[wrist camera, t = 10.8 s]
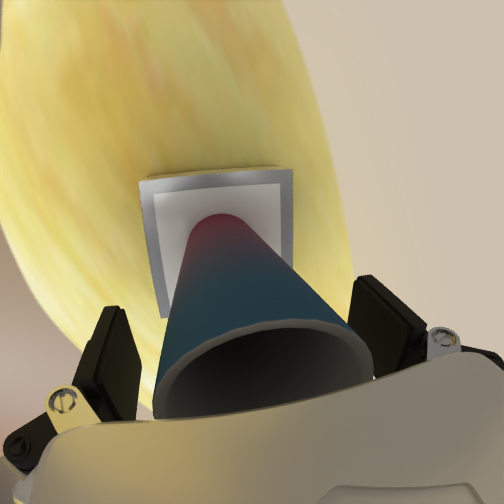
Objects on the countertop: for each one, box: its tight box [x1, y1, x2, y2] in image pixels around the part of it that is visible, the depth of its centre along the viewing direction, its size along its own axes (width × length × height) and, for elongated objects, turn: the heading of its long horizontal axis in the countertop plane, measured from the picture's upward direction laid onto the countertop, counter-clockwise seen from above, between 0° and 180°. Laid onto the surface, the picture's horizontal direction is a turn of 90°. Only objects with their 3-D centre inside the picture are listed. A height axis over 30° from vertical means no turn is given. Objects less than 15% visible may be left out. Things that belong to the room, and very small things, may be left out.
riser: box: [138, 166, 293, 318], centre depth 23 cm, size 11×11×4 cm
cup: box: [152, 213, 374, 420], centre depth 14 cm, size 7×7×15 cm
